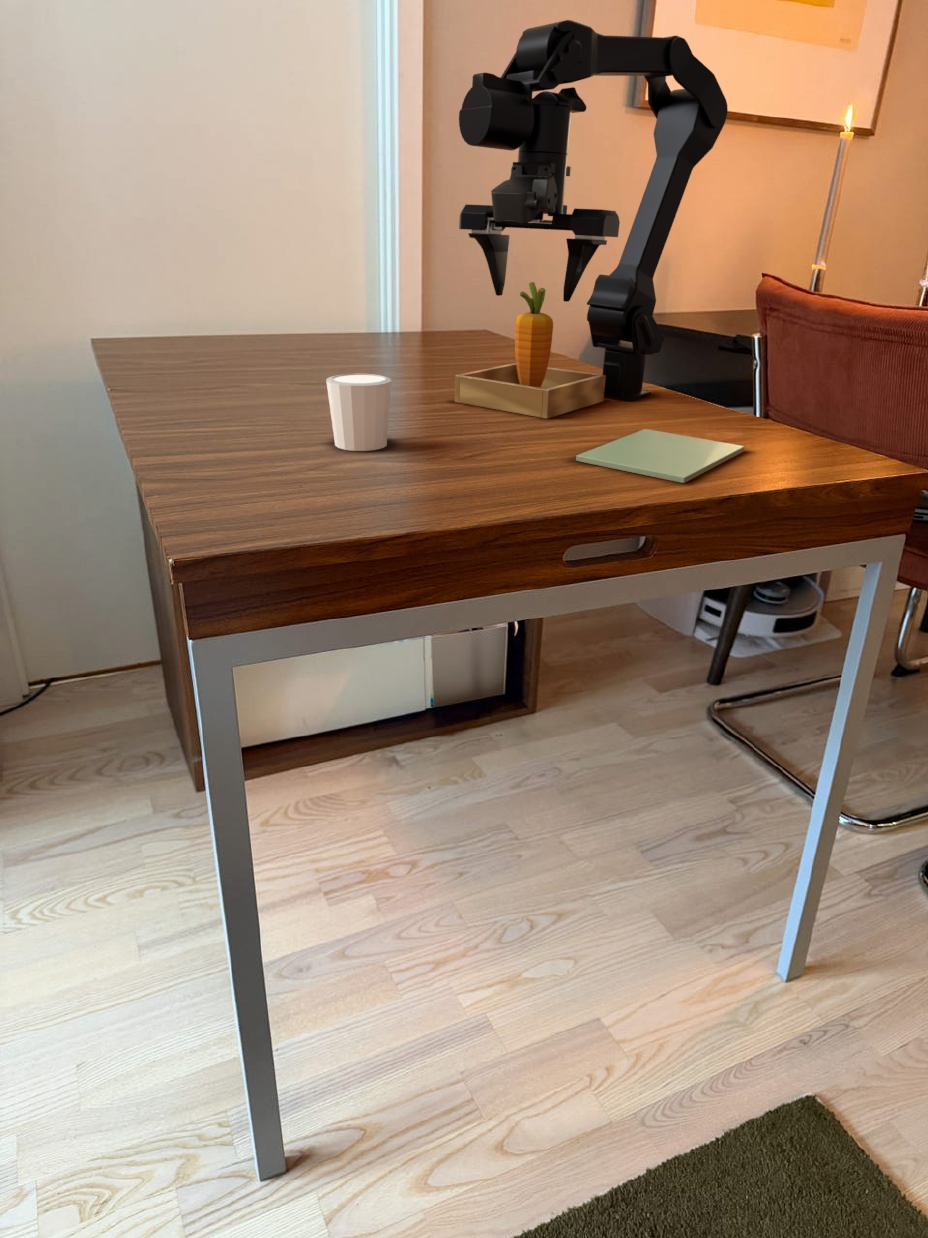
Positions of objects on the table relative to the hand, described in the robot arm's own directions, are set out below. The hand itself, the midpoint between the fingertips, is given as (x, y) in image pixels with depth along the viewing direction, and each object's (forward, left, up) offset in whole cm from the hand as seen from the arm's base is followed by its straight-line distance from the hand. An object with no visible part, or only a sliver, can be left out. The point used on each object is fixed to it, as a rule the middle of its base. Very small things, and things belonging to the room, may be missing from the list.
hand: (532, 298), depth 103 cm
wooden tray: (-4, -2, -14) cm, 14 cm away
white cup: (+28, -3, -14) cm, 31 cm away
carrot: (-4, -2, -14) cm, 14 cm away
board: (+10, +24, -14) cm, 29 cm away
